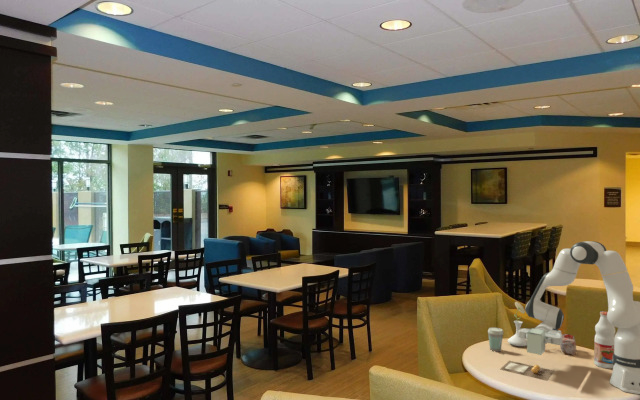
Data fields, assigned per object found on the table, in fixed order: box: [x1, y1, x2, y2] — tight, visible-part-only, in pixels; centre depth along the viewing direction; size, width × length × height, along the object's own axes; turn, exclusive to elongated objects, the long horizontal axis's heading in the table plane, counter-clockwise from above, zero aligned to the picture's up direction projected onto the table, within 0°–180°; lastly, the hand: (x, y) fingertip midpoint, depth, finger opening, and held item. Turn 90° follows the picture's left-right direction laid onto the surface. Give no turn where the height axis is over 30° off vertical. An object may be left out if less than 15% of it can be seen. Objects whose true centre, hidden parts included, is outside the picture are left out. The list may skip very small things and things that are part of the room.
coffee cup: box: [487, 327, 505, 353], centre depth 263 cm, size 8×9×12 cm
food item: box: [559, 333, 577, 356], centre depth 262 cm, size 14×8×10 cm, turn 155°
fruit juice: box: [593, 310, 616, 369], centre depth 241 cm, size 9×9×28 cm
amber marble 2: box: [533, 364, 541, 371], centre depth 230 cm, size 3×3×3 cm
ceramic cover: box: [526, 327, 546, 356], centre depth 228 cm, size 6×8×10 cm
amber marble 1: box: [531, 367, 538, 373], centre depth 227 cm, size 3×3×3 cm
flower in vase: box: [507, 301, 527, 347], centre depth 274 cm, size 13×11×25 cm
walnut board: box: [499, 360, 555, 382], centre depth 231 cm, size 22×16×1 cm
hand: (536, 340), depth 228 cm, fingers closed on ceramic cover, 6 cm apart
